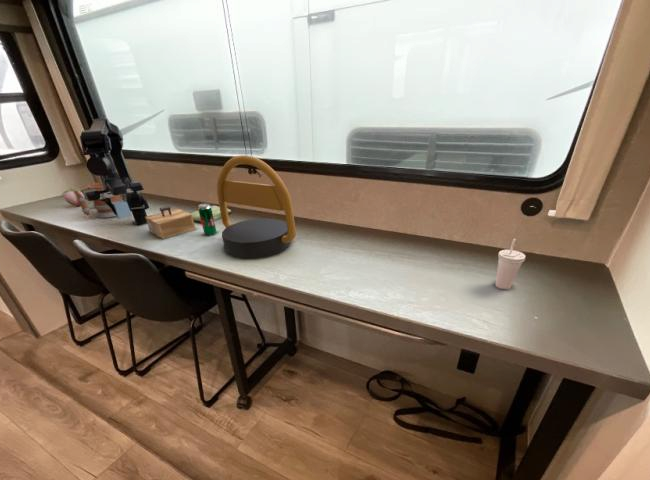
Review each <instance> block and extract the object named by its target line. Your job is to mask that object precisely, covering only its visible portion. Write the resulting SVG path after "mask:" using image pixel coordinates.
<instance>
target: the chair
mask: <svg viewBox="0 0 650 480" xmlns="http://www.w3.org/2000/svg"><path fill="white" fill-rule="evenodd" d="M239 165H249V166H252V167H255V168H256V169H259V170H260V171H261V172H262V173H263V174H265V175H266V176H267V177H268V178H269V179H270V181H271V182H272V183H273V184H266V183H258V182H248V181H239V180H229V179H228V177H229V174H230V173H231V171H232V170H233V168H234V169H235V167H237V166H239ZM216 194H217V201H218V207H220V212H221V217H220V219H221V221H222V224H223V226H224V227H225V228H224V229H223V230H222V231H221V238H222V242H223V247H224V251H225V253H226V254H227V255H228V256H230V257H232V258H234V259H242V260H257V259H258V260H259V259H264V258H268V257H269V258H270V257H272V256H275V255H278V254H280V253H282V252H285V251H286V250H287V249H288V248H289V247H290V245H291V243H292V242H293V241H294V239H295V237H296V236H297V232H296V230H297V229H296V223H295V216H294V210H293V203H292V199H291V198H292V197H291V196H290V193H289V190H288V188H287V186H286V184H285V183H284V181H283V180H282V178H281V177H280V175H279V174H278V173H277V172H276V171H275V170H274V169H273V168H272V167H271V166H270V165H269V164H267V163H266V162H265V161H263V160H261V159H259V158H257V157H255V156H252V155H237V156H234V157H232V158H230V159H228V160H227V161H226V162H225V164H224V165H223V166H222V169H221V170H220V173H219V175H218V178H217V183H216ZM227 203H228V204H234V205H239V206H240V205H241V206H247V207H254V208H260V209H266V210H272V211H279V212H282V211H283V212H284V216H285V221H284V220H280V219H276V218H254V219H253V218H252V219H248V220H242V221H239V222H235V223H232V222H231V220H230V218H229V213H228V211H227V209H228V206H227Z"/></svg>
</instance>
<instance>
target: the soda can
mask: <svg viewBox="0 0 650 480" xmlns="http://www.w3.org/2000/svg"><path fill="white" fill-rule="evenodd" d="M211 206H212V205H211V204H210V203H200V204H199V205H198V207H197V211H199V215H200V219H201V222H200V223H201V227H202V231H203V234H204V235H205V236H213V235H215V234H216V233H217V227H216V222H215V220H214V218H213V214H212V209H211Z"/></svg>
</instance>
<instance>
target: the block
mask: <svg viewBox="0 0 650 480" xmlns="http://www.w3.org/2000/svg"><path fill="white" fill-rule="evenodd" d="M112 205H113V207H114V209H115V211H116V213H117V215H116V217H115V218H118V219H123V218H128V217H133V214H132V211H130V209H129V207H128V204H127V202H126V201H124V200H121V201H117V202H112Z"/></svg>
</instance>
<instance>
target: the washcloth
mask: <svg viewBox="0 0 650 480" xmlns="http://www.w3.org/2000/svg"><path fill="white" fill-rule="evenodd" d="M210 206H211V209H212V214H213V218H214V221H215V220H218V219H221V212H220V207H219V205H218V206H217V205H210ZM227 211H228V214H230V213H231V212H232V210H231V209H229V208H227ZM189 214H191V215H192V217H193V221H194V222H200V223H201V219H200V215H199V211H198V210H196V211H193V212H191V213H189Z"/></svg>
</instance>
